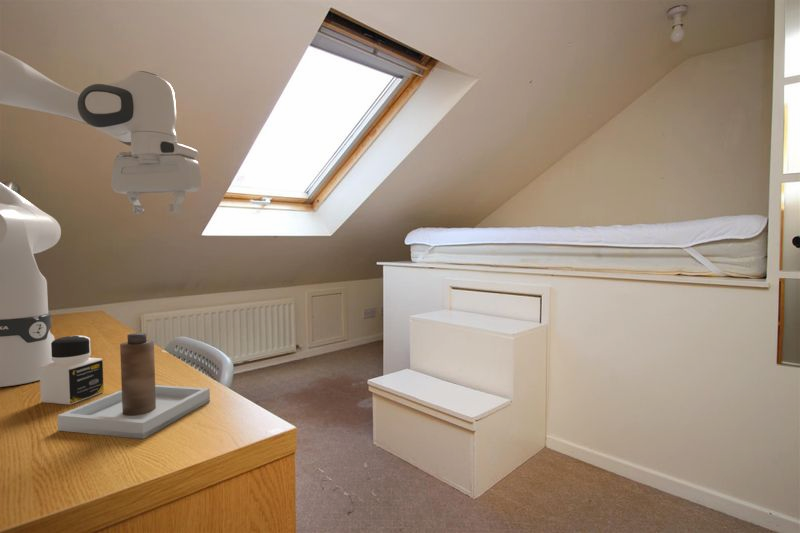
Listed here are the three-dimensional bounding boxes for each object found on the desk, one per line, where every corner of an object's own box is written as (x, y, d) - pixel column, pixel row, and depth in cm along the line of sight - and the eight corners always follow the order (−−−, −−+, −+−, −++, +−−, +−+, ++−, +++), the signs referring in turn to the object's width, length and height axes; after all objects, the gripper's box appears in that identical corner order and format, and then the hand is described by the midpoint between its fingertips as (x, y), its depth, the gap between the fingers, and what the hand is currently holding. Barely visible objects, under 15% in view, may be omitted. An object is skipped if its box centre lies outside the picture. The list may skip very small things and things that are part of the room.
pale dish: (58, 430, 68) (57, 415, 68) (138, 395, 83) (137, 383, 83) (143, 438, 65) (142, 422, 64) (209, 401, 80) (209, 388, 80)
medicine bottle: (70, 405, 79) (68, 342, 78) (40, 402, 80) (37, 340, 79) (104, 392, 86) (102, 334, 85) (75, 390, 87) (73, 332, 86)
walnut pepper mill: (115, 414, 72) (112, 336, 71) (138, 403, 77) (136, 330, 76) (140, 416, 71) (137, 337, 70) (162, 405, 76) (160, 331, 75)
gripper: (102, 149, 91) (104, 212, 92) (185, 144, 87) (186, 211, 88) (126, 155, 98) (128, 215, 98) (204, 151, 94) (206, 213, 94)
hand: (156, 213), depth 93 cm, fingers open, 8 cm apart
